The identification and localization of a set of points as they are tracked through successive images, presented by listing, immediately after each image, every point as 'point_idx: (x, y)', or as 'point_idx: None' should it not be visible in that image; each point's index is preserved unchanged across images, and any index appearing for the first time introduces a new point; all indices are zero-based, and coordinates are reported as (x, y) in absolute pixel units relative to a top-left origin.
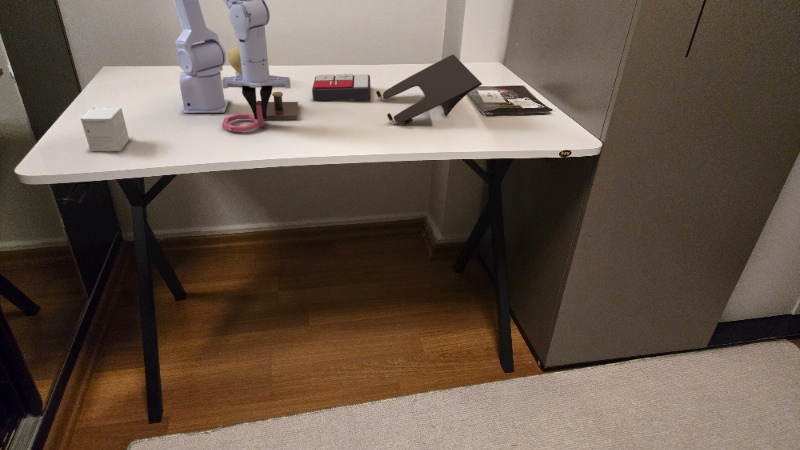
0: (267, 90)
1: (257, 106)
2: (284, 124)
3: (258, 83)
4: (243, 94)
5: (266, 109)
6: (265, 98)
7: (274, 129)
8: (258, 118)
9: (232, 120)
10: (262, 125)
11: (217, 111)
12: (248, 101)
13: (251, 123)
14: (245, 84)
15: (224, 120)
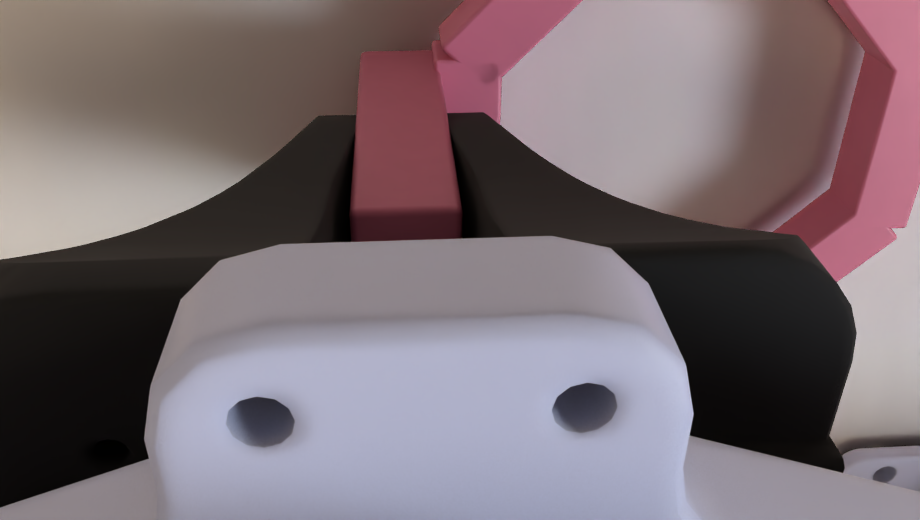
0: (65, 421)
1: (430, 192)
2: (102, 180)
3: (230, 486)
4: (806, 246)
5: (260, 169)
6: (192, 243)
7: (204, 15)
8: (427, 94)
9: (784, 229)
10: (375, 55)
11: (917, 455)
12: (626, 208)
13: (536, 37)
14: (847, 501)
15: (914, 149)
